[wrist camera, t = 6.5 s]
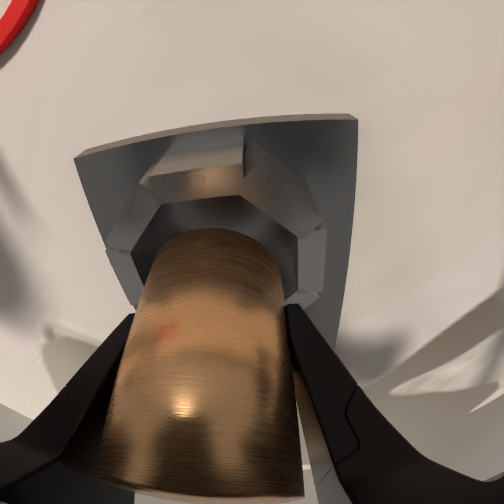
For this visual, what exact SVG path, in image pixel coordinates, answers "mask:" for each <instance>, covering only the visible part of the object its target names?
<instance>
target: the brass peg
mask: <svg viewBox="0 0 504 504" xmlns="http://www.w3.org/2000/svg"><path fill="white" fill-rule="evenodd" d="M300 448H301V447H300V437H299V426H298V417H297V406H296V397H295V387H294V378H293V369H292V360H291V352H290V344H289V336H288V327H287V319H286V311H285V302H284V295H283V287H282V279H281V272H280V269H279V266H278V264H277V262H276V260H275V258H274V257H273V255H272V254H271V253H270V252H269V251H268V250H267V249H266V248H265V247H264V246H263V245H262V244H260V243H259V242H258V241H256V240H254V239H253V238H251V237H249V236H247V235H244V234H242V233H239V232H236V231H232V230H227V229H221V228H202V229H196V230H191V231H188V232H184V233H182V234H180V235H178V236H176V237H174V238H172V239H171V240H169V241H168V242H167V243H166V244H165V245H163V247H162V248H161V249H160V250H159V251H158V253H157V255H156V256H155V259H154V262H153V264H152V267H151V270H150V272H149V275H148V278H147V281H146V284H145V286H144V289H143V292H142V295H141V298H140V301H139V304H138V307H137V310H136V313H135V316H134V319H133V322H132V325H131V328H130V332H129V335H128V338H127V341H126V345H125V348H124V352H123V355H122V358H121V362H120V366H119V369H118V373H117V377H116V380H115V384H114V388H113V392H112V396H111V400H110V404H109V408H108V412H107V417H106V421H105V426H104V430H103V435H102V440H101V445H100V450H99V455H98V460H97V466H96V472H95V478H97V479H98V480H100V481H102V482H105V483H107V484H110V485H112V486H115V487H118V488H121V489H124V490H128V491H131V492H135V493H138V494H142V495H147V496H151V497H156V498H161V499H167V500H173V501H179V502H187V503H196V504H277V503H284V502H290V501H295V500H299V499H302V498H304V497H305V495H304V482H303V470H302V459H301V449H300Z"/></svg>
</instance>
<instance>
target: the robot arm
mask: <svg viewBox="0 0 504 504" xmlns="http://www.w3.org/2000/svg"><path fill="white" fill-rule="evenodd" d="M285 311H286V319H287V327H288V336H289V344H290V352H291V360H292V369H293V378H294V387H295V397H296V401H297V405H298V410H299V414H300V419H301V424H302V428H303V433H304V437H305V442H306V446H307V451H308V455H309V460H310V465H311V469H312V474H313V479H314V483H315V487H316V493H317V498H318V502H319V504H504V472H502V473H500V474H498V475H496V476H494V477H492V478H489V479H487V480H485V481H480V480H476V479H473V478H471V477H469V476H466V475H464V474H461V473H459V472H457V471H454V470H452V469H450V468H447V467H445V466H443V465H441V464H438V463H436V462H434V461H432V460H430V459H428V458H426V457H425V456H423V455H422V454H421V453H419V452H418V451H417V450H416V449H415V448H414V447H413V446H412V445H411V444H410V443H409V442H408V441H407V440H406V439H405V438H404V437H403V436H402V435H401V434H400V433H399V432H398V431H397V430H396V429H395V428H394V427H393V426H392V425H391V424H390V422H388V421H387V419H386V418H385V417H384V416H383V415H382V414H381V413H380V412H379V411H378V409H377V408H376V407H375V406H374V405H373V403H372V402H371V401H370V399H369V398H368V397H367V396H366V394H365V393H364V391H363V390H362V389H361V387H360V386H357V385H358V384H357V382H356V381H355V379H354V378H353V377H352V375H351V374H350V372H349V371H348V370H347V368H346V367H345V366H344V364H343V363H342V362H341V360H340V359H339V357H338V356H337V355H336V353H335V352H334V351H333V349H332V348H331V347H330V345H329V344H328V342H327V341H326V340H325V338H324V337H323V336H322V334H321V333H320V332H319V330H318V329H317V327H316V326H315V325H314V323H313V322H312V321H311V319H310V318H309V317H308V315H307V314H306V313H305V311H304V310H303V309H302V307H301V306H300V305H299V304H298V303H294V304H287V305H285ZM134 316H135V313H131V314H129V315H128V316H127V317H126V318H125V319H124V320H123V321H122V322H121V323H120V324H119V325H118V326H117V327H116V329H115V330H114V331H113V332H112V333H111V334H110V335H109V336H108V337H107V339H106V340H105V341H104V342H103V343H102V344H101V345H100V346H99V347H98V349H97V350H96V351H95V352H94V353H93V354H92V355H91V356H90V358H89V359H88V360H87V361H86V362H85V363H84V365H83V366H82V367H81V368H80V369H79V370H78V371H77V373H76V374H75V375H74V376H73V377H72V378H71V380H70V381H69V382H68V383H67V384H66V387H64V388H63V389H62V390H61V391H60V392H59V394H58V395H57V396H56V397H55V398H54V399H53V401H52V402H51V403H50V404H49V405H48V406H47V407H46V408H45V409H44V410H43V411H42V412H41V413H40V414H39V415H38V416H37V417H36V418H35V419H34V420H33V421H32V422H31V423H30V425H28V427H27V428H26V429H25V430H24V431H23V432H22V433H20V434H19V435H18V436H17V437H15V438H13V439H12V440H9V441H5V442H1V443H0V504H134V497H135V492H131V491H128V490H124V489H121V488H118V487H115V486H112V485H110V484H107V483H105V482H102V481H100V480H98V479H97V478H95V472H96V466H97V460H98V455H99V450H100V445H101V440H102V435H103V430H104V426H105V421H106V417H107V412H108V408H109V404H110V400H111V396H112V392H113V388H114V384H115V380H116V377H117V373H118V369H119V366H120V362H121V358H122V355H123V352H124V348H125V345H126V341H127V338H128V335H129V332H130V328H131V325H132V322H133V319H134Z"/></svg>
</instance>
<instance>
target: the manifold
mask: <svg viewBox="0 0 504 504" xmlns="http://www.w3.org/2000/svg"><path fill="white" fill-rule="evenodd" d="M357 148H358V119H356V118H355V117H353V116H351V115H350V114H304V115H284V116H270V117H258V118H248V119H238V120H230V121H222V122H214V123H207V124H201V125H194V126H188V127H182V128H177V129H171V130H166V131H161V132H156V133H151V134H146V135H142V136H137V137H133V138H129V139H124V140H120V141H116V142H112V143H109V144H105V145H101V146H98V147H94V148H90V149H87V150H85V151H83V152H82V153H81V154H79V155H78V156H77V157H75V158H74V162H75V165H76V168H77V171H78V174H79V177H80V180H81V183H82V186H83V189H84V192H85V195H86V198H87V200H88V203H89V206H90V209H91V211H92V214H93V216H94V219H95V222H96V224H97V227H98V229H99V232H100V234H101V237H102V239H103V241H104V244H105V246H106V248H107V249H106V251H105V252H106V254H107V256H108V258H109V261H110V263H111V265H112V267H113V269H114V272H115V274H116V276H117V278H118V280H119V282H120V284H121V286H122V288H123V290H124V292H125V294H126V296H127V298H128V300H129V302H130V304H131V305H133V306H134V308H135V310H137V307H138V304H139V301H140V298H141V295H142V292H143V289H144V286H145V284H146V281H147V278H148V275H149V272H150V270H151V267H152V264H153V262H154V259H155V256H156V255H157V253H158V251H159V250H160V249H161V248H162V247H163V245H165V244H166V243H167V242H168V241H169V240H171V239H172V238H174V237H176V236H178V235H180V234H182V233H184V232H188V231H191V230H196V229H202V228H221V229H227V230H232V231H236V232H239V233H242V234H244V235H247V236H249V237H251V238H253V239H254V240H256V241H258V242H259V243H260V244H262V245H263V246H264V247H265V248H266V249H267V250H268V251H269V252H270V253H271V254H272V255H273V257H274V258H275V260H276V262H277V264H278V266H279V269H280V272H281V279H282V287H283V295H284V302H285V305H287V304H294V303H298V304H299V305H300V306H301V307H302V309H303V310H304V311H305V313H306V314H307V315H308V317H309V318H310V319H311V321H312V322H313V323H314V325H315V326H316V327H317V329H318V330H319V332H320V333H321V334H322V336H323V337H324V338H325V340H326V341H327V342H328V344H329V345H330V347H331V348H332V349H333V351H334V348H335V343H336V338H337V332H338V327H339V321H340V315H341V309H342V303H343V297H344V290H345V283H346V276H347V269H348V261H349V253H350V244H351V235H352V225H353V214H354V202H355V188H356V171H357Z"/></svg>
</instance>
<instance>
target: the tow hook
mask: <svg viewBox="0 0 504 504" xmlns="http://www.w3.org/2000/svg"><path fill="white" fill-rule="evenodd" d="M37 2H38V0H12V2H11V4H10V5H9V7H8V9H7V10H6V12H5V14H4V15H3V17H2V18H1V19H0V53H1V52H2V51H3V50H4V49H5V48H6V47H7V46H8V45H9V44H10V43H11V42H12V41H13V39H14V38H15V37H16V35H17V34H18V33H19V32H20V30H21V29H22V28H23V27H24V25H25V23H26V21H27V20H28V18H29V17H30V15H31V13H32V12H33V10H34V9H35V7H36V4H37Z"/></svg>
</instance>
